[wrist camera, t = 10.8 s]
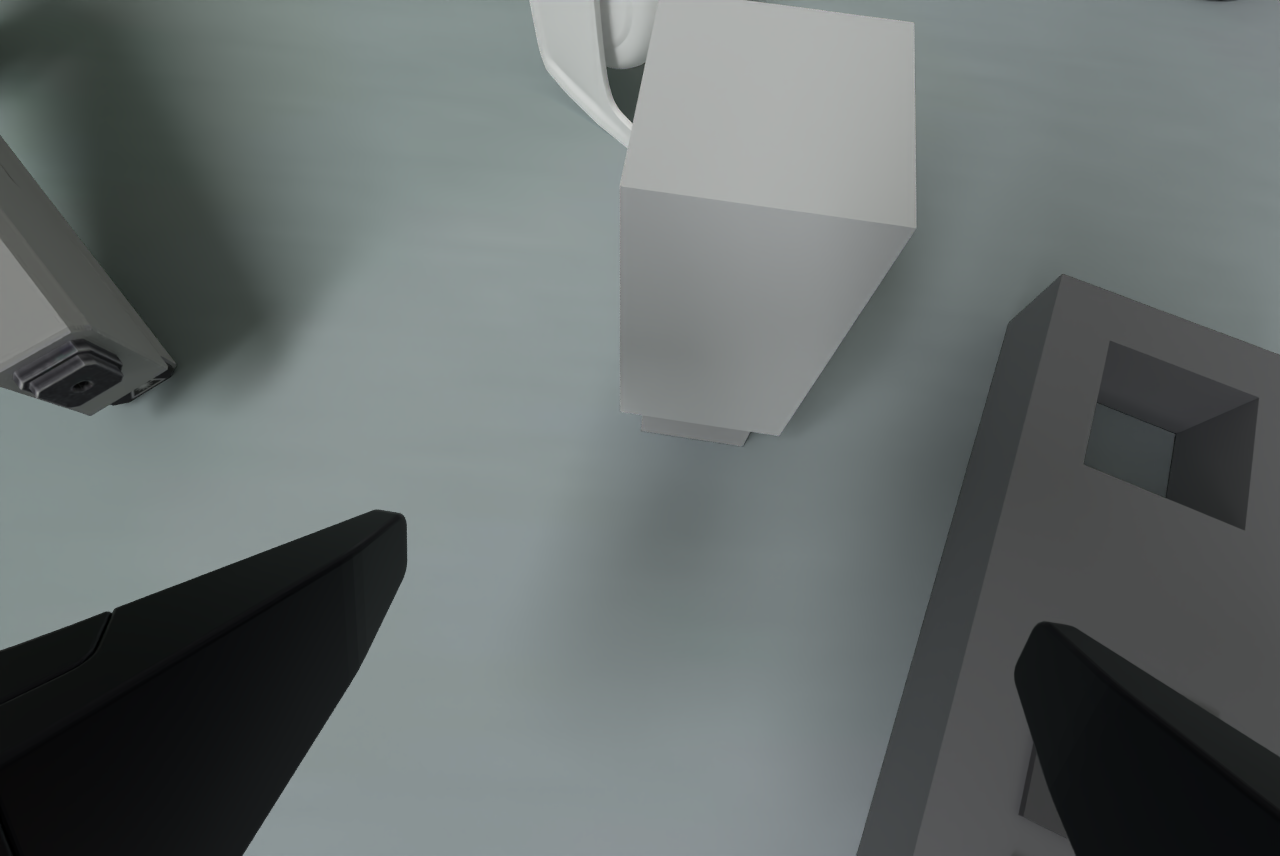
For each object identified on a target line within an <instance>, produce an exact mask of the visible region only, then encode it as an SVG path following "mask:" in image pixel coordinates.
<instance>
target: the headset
mask: <svg viewBox="0 0 1280 856" xmlns="http://www.w3.org/2000/svg"><path fill="white" fill-rule="evenodd" d="M529 1H530V6H531V11H532V16H533V21H534V26H535V31H536V36H537V41H538V46H539V50H540V54H541V57H542V59H543V62H544V65H545V68H546V70H547V71H548V72H549V74H550V75H551V76H552V77H553V78H554V80H555V81H556V82H557V83H558V84H559V86H560V87H561V88H562V89H563V90H564V91H565V92H566V94H567V95H568V96H569V97H570V98H571V99H572V100H573V101H574V102H575V103H576V104H577V105H579V106H580V107H581V108H582V109H583V110H584V111H585V112H586V113H587V114H588V115H589V116H590V117H591V118H592V119H593V120H594V121H595V122H596V123H597V124H598V125H599V126H600V127H602V128H603V129H604V130H605V131H607V132H608V133H609V134H610V135H612V136H613V137H614V138H615V139H616V140H618V141H619V142H620V143H621V144H623V145H624V146H625V147H627V148H628V144H629V139H630V134H631V130H632V125H633V123H632V122H631V121H630V120H629V119H628V118H627V117H626V116H625V115H624V114H623V113H622V112H621V111H620V109H619V108H618V107H617V105H616V103H615V101H614V99H613V96H612V93H611V90H610V86H609V81H608V76H607V69H606V67H609V68H613V69H630V68H634V67H637V66H639V65H642V64H643V63H645V62H646V58H647V53H648V48H649V43H650V39H651V34H652V29H653V24H654V19H655V15H656V10H657V5H658V0H529Z"/></svg>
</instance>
